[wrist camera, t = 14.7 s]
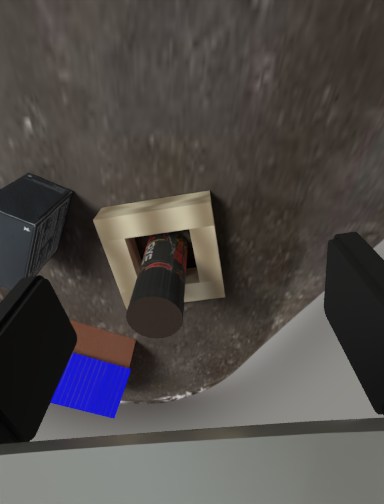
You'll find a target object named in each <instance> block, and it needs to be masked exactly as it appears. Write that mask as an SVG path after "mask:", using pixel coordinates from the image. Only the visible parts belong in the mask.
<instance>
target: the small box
mask: <svg viewBox="0 0 384 504" xmlns="http://www.w3.org/2000/svg"><path fill="white" fill-rule="evenodd" d="M72 193H73V192H72V191H71V190H69V189H67V188H63V187H62V186H59V185H56V184H54V183H51V182H49V181H47V180H44V179H42V178H41V177H38V176H35V175H32V174H30V173H27V174H26V175H24V176H22V177H21V178H19V179H17V180H16V181H14V182H12V183H10V184H9V185H7V186H5V187H4V188H2V189H0V286H1V287H4V288H7V289H10V290H12V289H13V288H14V286H15V285H16V284H17V283H18V282H19V280H20V279H22V278H24V277H31V276H36V275H37V274H38V272H39V271H40V270H41V269H42V267H43V266H44V265H45V264H46V263H47V261H48V260H49V259H50V258H51V257H52V256H53V255H54V254H55V252H56V251H57V250H58V247H59V243H60V239H61V235H62V232H63V228H64V224H65V220H66V217H67V213H68V209H69V205H70V201H71V197H72Z"/></svg>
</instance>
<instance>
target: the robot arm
mask: <svg viewBox="0 0 384 504" xmlns="http://www.w3.org/2000/svg"><path fill="white" fill-rule="evenodd" d="M324 310H325V314H326V317H327V319H328V321H329V323H330V325H331V326H332V328H333V330H334V332H335V334H336V336H337V338H338V340H339V342H340V344H341V346H342V348H343V350H344V352H345V354H346V356H347V358H348V360H349V361H350V364H351V366H352V368H353V370H354V371H355V373H356V375H357V377H358V379H359V381H360V383H361V385H362V387H363V389H364V391H365V393H366V395H367V397H368V399H369V401H370V402H371V405H372V406H373V408H374V410H375V412H376V413H378V414H383V415H384V260H383V259H382V258H381V257H380V256H379V255H378V254H377V253H376V252H375V250H374V249H373V248H372V247H371V246H370V245H369V244H368V243H367V242H366V241H365V240H364V239H363V238H362V237H361V236H360V235H359V234H358V233H357V232H350V233H343V234H336V235H335V236H334V239H333V240H329V242H328V251H327V266H326V281H325V298H324ZM76 344H77V334H76V332H75V330H74V328H73V326H72V324H71V322H70V320H69V318H68V316H67V314H66V312H65V311H64V309H63V307H62V305H61V303H60V301H59V299H58V297H57V295H56V293H55V291H54V289H53V287H52V286H51V284H50V282H49V280H47V279H44V277H42V276H40V275H38V276H31V277H24V278H22V279H20V280H19V282H18V283H17V284H16V285H15V286H14V288H13V289H12V290H11V291H10V292H9V293H8V295H7V296H6V297H5V298H4V299H3V300H2V302H1V303H0V504H384V418H368V419H349V420H331V421H311V422H310V421H309V422H295V423H280V424H265V425H250V426H236V427H221V428H208V429H194V430H193V429H192V430H180V431H165V432H151V433H138V434H125V435H111V436H99V437H85V438H72V439H59V440H48V441H35V442H29V441H30V440H32V439H33V438H34V437H35V435H36V433H37V431H38V429H39V426H40V424H41V422H42V420H43V417H44V415H45V413H46V410H47V409H48V406H49V404H50V402H51V400H52V397H53V395H54V393H55V391H56V388H57V386H58V384H59V382H60V380H61V377H62V375H63V373H64V371H65V368H66V366H67V364H68V362H69V360H70V357H71V355H72V353H73V351H74V348H75V346H76Z"/></svg>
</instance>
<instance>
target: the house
mask: <svg viewBox="0 0 384 504" xmlns="http://www.w3.org/2000/svg"><path fill="white" fill-rule="evenodd" d="M70 322H71V324H72V326H73V328H74V330H75V332H76V334H77V344H76V346H75V348H74V351H73V353H72V355H71V357H70V360H69V362H68V364H67V366H66V368H65V371H64V373H63V375H62V377H61V380H60V382H59V384H58V386H57V388H56V391H55V393H54V395H53V397H52V400H51V402H50V403H54V404H58V405H62V406H66V407H70V408H74V409H78V410H82V411H86V412H90V413H94V414H98V415H102V416H107V417H110V418H114V417H115V414H116V412H117V409H118V406H119V403H120V400H121V397H122V394H123V392H124V389H125V386H126V383H127V380H128V377H129V374H130V371H131V369H129V367H130V362H131V358H132V354H133V350H134V345H135V341H136V340H135V339H132V338H128V337H125V336H122V335H118V334H115V333H112V332H108V331H105V330H102V329H99V328H95V327H92V326H89V325H85V324H82V323H79V322H75V321H72V320H70Z"/></svg>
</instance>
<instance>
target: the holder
mask: <svg viewBox="0 0 384 504" xmlns="http://www.w3.org/2000/svg"><path fill="white" fill-rule="evenodd" d="M93 222H94V225H95V227H96V230H97V232H98V235H99V238H100V240H101V243H102V246H103V248H104V251H105V254H106V256H107V259H108V261H109V264H110V267H111V269H112V272H113V275H114V277H115V280H116V283H117V285H118V288H119V291H120V293H121V296H122V298H123V301H124V304H125V306H126V309H128V306H129V303H130V299H131V296H132V293H133V289H134V286H135V283H136V279H137V276H138V273H139V269H140V266H141V263H142V261H141V257H140V254H139V251H138V248H137V244H136V241H135V238H134V237H139V236H146V235H153V234H159V233H166V232H173V231H180V230H187V229H189V230H190V235H191V240H192V245H193V250H194V255H195V260H196V265H197V267H194V268H187V269H186V280H185V295H184V302H189V301H197V300H205V299H214V298H222V297H225V292H224V283H223V276H222V269H221V263H220V256H219V249H218V243H217V236H216V230H215V223H214V216H213V210H212V203H211V196H210V191H204V192H198V193H191V194H185V195H179V196H173V197H166V198H160V199H154V200H147V201H141V202H135V203H129V204H122V205H116V206H110V207H104V208H101V210H100V211H99V212H98V214H97V215H96V217H95V218H94V219H93Z"/></svg>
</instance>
